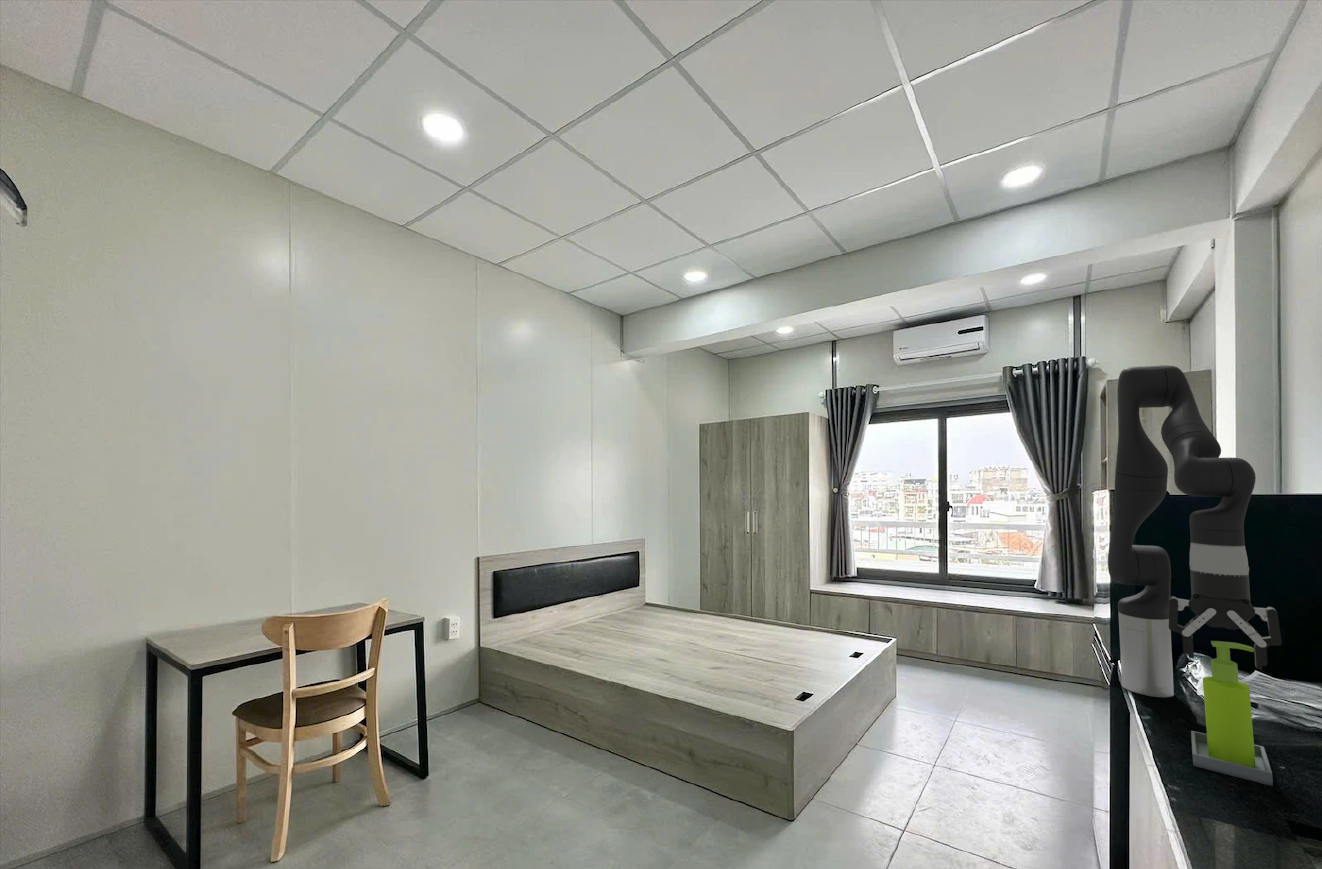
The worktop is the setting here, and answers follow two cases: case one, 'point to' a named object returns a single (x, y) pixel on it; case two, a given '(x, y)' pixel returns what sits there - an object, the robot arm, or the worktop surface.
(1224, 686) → the soap dispenser
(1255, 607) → the robot arm
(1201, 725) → the worktop surface
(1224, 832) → the worktop surface
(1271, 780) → the tray
